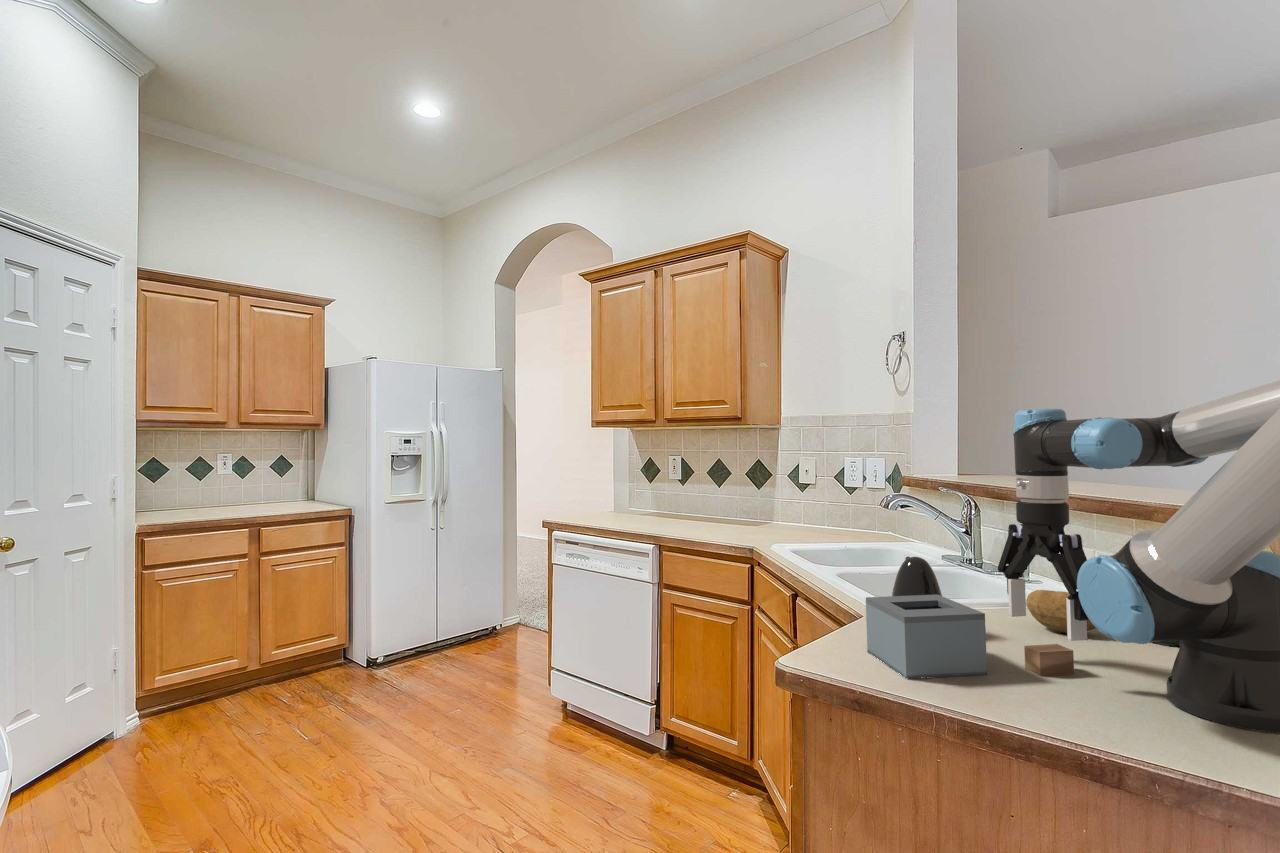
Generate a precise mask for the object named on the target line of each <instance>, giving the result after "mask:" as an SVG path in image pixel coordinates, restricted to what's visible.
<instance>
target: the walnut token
mask: <svg viewBox="0 0 1280 853" xmlns="http://www.w3.org/2000/svg"><path fill="white" fill-rule="evenodd" d="M1074 663H1075V662H1074V650H1073V649H1071V648H1069V647H1066V646H1063V645H1060V644H1058V643H1050V644H1049V643H1048V644H1033V645H1024V669H1025V670H1026V671H1029V672H1030V673H1033V674H1035V675H1037V676H1039V677H1049V676H1065V675H1067V676H1069V675H1075V664H1074Z"/></svg>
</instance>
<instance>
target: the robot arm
mask: <svg viewBox="0 0 1280 853" xmlns="http://www.w3.org/2000/svg"><path fill="white" fill-rule="evenodd" d="M1013 428H1014V429H1013V432H1012V436H1013V444H1014V445H1013V446H1014V449H1013V450H1014V471H1015V493H1016V495H1015V496H1016V498H1018V499H1020V500H1018V501H1017V502H1016V503H1015V510H1016V511H1015V512H1016V513H1015V514H1016V515H1015V516H1016V521H1017V522H1018V523H1015V524H1014V523H1012V524H1009V525H1008V531H1007V534H1008V535H1007V539H1006V542H1005V544H1004V547H1003V550H1002V553H1001V557H1000V559H999V562H998V565H997V570H998V573H1003V575H1004V578H1006V585H1007V586H1006V588H1007V589H1006V590H1007V592H1006V593H1007V595H1008V616H1010V617H1012V618H1013V617H1016V618H1017V617H1027V601H1026V599H1027V596H1026V579H1024V578H1025V575H1024V574H1025V572H1026V570H1027V569H1028V567H1029V565H1031V563H1032V562H1033V560H1034V559H1035V557H1036V556H1040V557H1042V558H1046V561H1048V562H1050V563H1051V564H1052V567H1053V568H1054V570H1055V571H1056V573H1057V575H1058V577H1059V578H1060V580H1061V582H1062V584H1063V585H1064V587H1065V588H1066V592H1069V594H1070V595H1069V596H1068V597H1067V598H1066V604H1067V633H1066V635H1067V636H1066V637H1067V640H1068V641H1071V642H1074V641H1076V642H1077V641H1088V631H1087V620H1088V618H1089V620H1090V621H1091V622H1092V624H1093V625H1094V626H1095V627H1096V629H1097V630H1098V631H1099V633H1102V634H1103V635H1104V636H1106V637H1107V638H1109V639H1111V640H1115V641H1116V642H1118V643H1119V642H1120V643H1125V644H1127V643H1128V644H1129V643H1131V644H1138V645H1147V644H1149V643H1157V642H1164V641H1177V640H1180V645H1179V648H1178V651H1177V654H1176V656H1175V659H1174V662H1173V666H1172V669H1171V673H1170V674H1171V675H1169V676H1168V678H1167V680H1166V698H1167V700H1168V701H1169V702H1170V703H1171V704H1172V705H1174V706H1175V707H1177V708H1179V709H1180V710H1182V711H1185V712H1187V713H1189V714H1192V715H1194V716H1196V717H1199V718H1202V719H1204V720H1209V721H1211V722H1212V721H1213V722H1216V723H1219V724H1223V725H1226V726H1227V725H1228V726H1232V727H1235V728H1241V729H1246V730H1252V731H1260V732H1266V733H1275V734H1280V554H1278V553H1275V552H1272V551H1266V550H1265V549H1266V548H1267V547H1269V546H1270V545H1271V544H1272V543H1273V542H1274V541H1276V540H1277V539H1278V538H1280V379H1279V380H1275V381H1272V382H1269V383H1266V384H1262V385H1260V386H1257V387H1253V388H1250V389H1246V390H1243V391H1241V392H1236V393H1233V394H1229V395H1227V396H1224V397H1221V398H1218V399H1215V400H1211V401H1207V402H1204V403H1201V404H1197V405H1195V406H1191V407H1188V408H1185V409H1182V410H1180V411H1176V412H1171V413H1169V414H1165V415H1163V416H1157V417H1142V418H1141V417H1140V418H1137V417H1136V418H1135V417H1134V418H1133V417H1132V418H1118V417H1117V418H1115V417H1099V416H1098V417H1093V418H1081V419H1079V418H1078V419H1068V418H1067V413H1066V411H1065V410H1064V409H1062V408H1035V409H1021V410H1019V411H1017V412H1016V413H1015V415H1014V424H1013ZM1234 451H1235V453H1234V454H1233V455H1232V456H1231V457H1230V458H1229V459H1227V461H1226V462H1225V463H1223V465H1221V467H1220V468H1219V469H1218V470H1217V471H1216V472H1215V473H1214V474H1213V475H1212V476H1211V477H1210V478H1209V479H1208V480H1207V481H1206V482H1204V484H1203V485H1202V486H1201V487H1200V488H1199V489H1198V490H1197V491H1196V492H1195V493H1194V494H1192V496H1191V497H1190V498H1189V499H1188V500H1187V501H1186V502H1185V503H1184V504H1183V505H1182V506H1181V507H1180V508H1179V509H1178V510H1177V511H1176V512H1175V513H1174V514H1173V515H1172V516H1171V517H1170V518H1169V519H1167V521H1166V522H1165V523H1164V524H1163V525H1162V526H1161V527H1160V528H1159V529H1145V530H1141V531H1139V532H1137V533H1136V534H1134V535H1132V537H1131V538H1130V539H1129V540H1128V541H1127V542H1126V544H1124V545H1123V546H1122V548H1120V550H1118V552H1116V553H1115V554H1112V555H1107V554H1099V555H1098V556H1094V557H1090V558H1088V559H1087V556H1086V553H1085V551H1084V548H1083V547H1084V546H1083V539H1082V536H1081V534H1078V533H1077V534H1076V533H1073V534H1072V533H1071V534H1066V533H1065V526H1067V525H1069V523H1070V505H1069V504H1068V502H1067V501H1066V500H1067V499H1069V498H1070V492H1069V490H1070V489H1069V476H1068V475H1069V471H1068V467H1073V468H1076V467H1077V468H1089V469H1090V468H1092V469H1095V470H1115V469H1123V468H1129V467H1133V468H1134V467H1135V468H1137V467H1172V468H1177V467H1178V468H1179V467H1185V466H1192V465H1193V466H1194V465H1197V464H1200V463H1203V462H1205V461H1206V460H1207V459H1208V458H1209V457H1213V456H1217V455H1221V454H1222V455H1223V454H1226V453H1230V452H1234ZM1065 501H1066V502H1065Z"/></svg>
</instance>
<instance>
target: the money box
mask: <svg viewBox="0 0 1280 853" xmlns="http://www.w3.org/2000/svg"><path fill="white" fill-rule="evenodd" d="M865 613H866V614H865V617H866V641H867V642H866V647H867V648H866V649H867V650H866V651H867V653H868V652H869V653H868V654H870V655H871V654H872V655H871V656H873V657H874V656H875V657H876V659H877V658H878V659H879V661H880V660H881V661H882V662H881V661H880V662H881V663H883V662H884V663H885V664H884V663H883V664H884V665H886V664H887V665H888V666H889V667H888V666H887V665H886V666H887V667H888V668H890V667H891V668H892V669H891V668H890V669H891V670H893V669H894V670H895V671H894V670H893V671H894V672H896V673H897V672H898V673H900V674H901V675H902V677H903V676H904V677H905V678H904V677H903V678H904V679H906V678H917V679H922V678H921V677H925V678H924V679H930V677H935V678H947V677H948V678H950V676H953V677H968V676H967V675H969V677H970V676H985V675H986V676H987V675H988V662H987V661H988V660H987V659H988V658H987V634H986V633H987V632H986V613H985V612H982V611H979V610H977V609H974V608H972V607H969V606H967V605H964V604H962V603H960V602H957V601H955V600H952V599H950V598H946V597H944V596H943V595H942V596H940V595H937V594H936V595H912V596H892V595H891V596H889V595H888V596H871V597H869V596H866V597H865ZM875 657H874V658H875ZM878 659H877V660H878ZM898 673H897V674H898ZM900 674H899V675H900ZM901 675H900V676H901ZM927 677H929V678H927Z"/></svg>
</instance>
